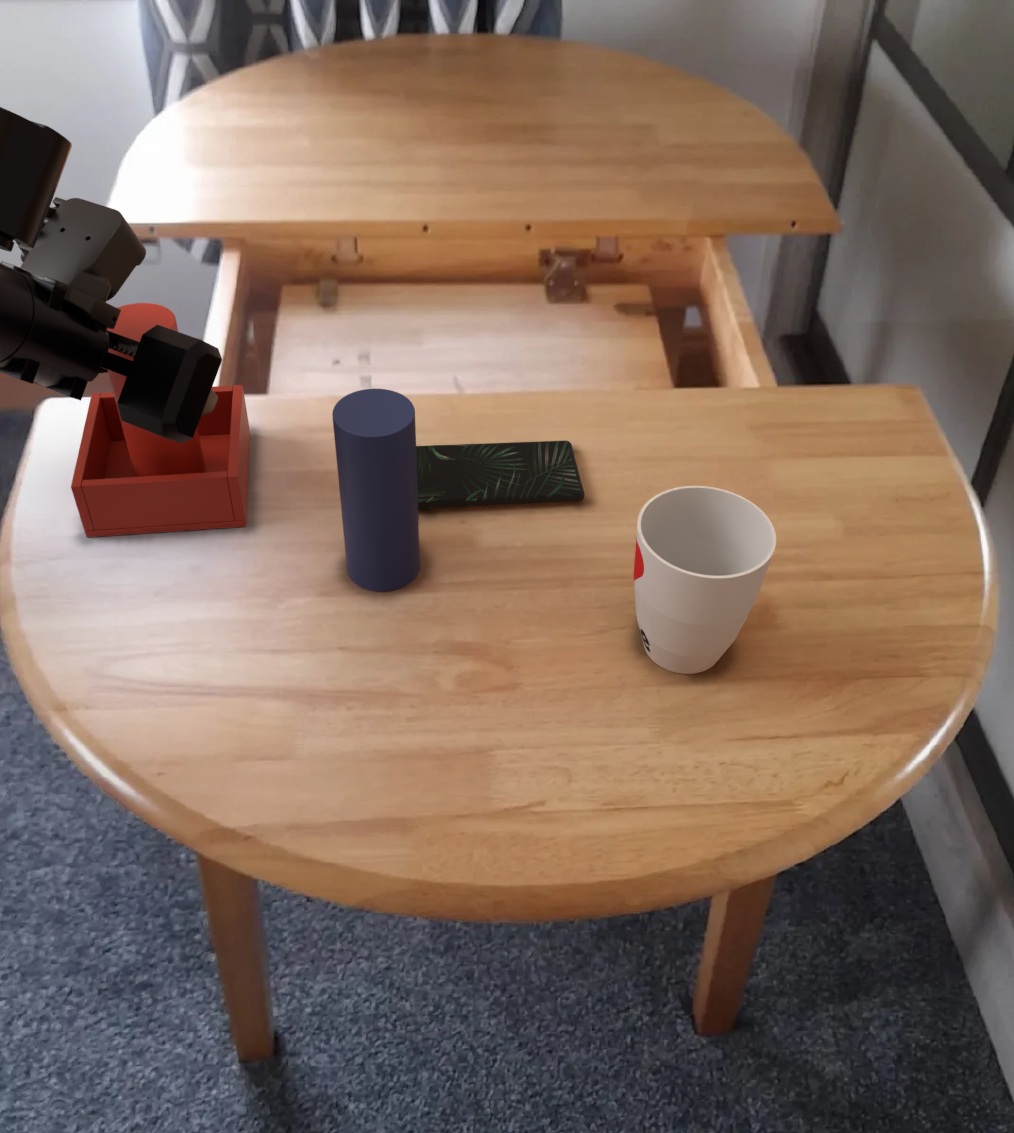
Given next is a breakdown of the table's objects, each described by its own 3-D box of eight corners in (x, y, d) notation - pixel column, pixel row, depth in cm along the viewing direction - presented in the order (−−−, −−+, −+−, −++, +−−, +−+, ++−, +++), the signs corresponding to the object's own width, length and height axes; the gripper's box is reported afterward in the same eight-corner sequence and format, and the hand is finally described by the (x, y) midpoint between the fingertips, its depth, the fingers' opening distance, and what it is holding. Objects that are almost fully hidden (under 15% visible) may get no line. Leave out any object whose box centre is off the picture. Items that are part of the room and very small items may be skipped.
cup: (652, 584, 76) (672, 469, 69) (764, 630, 73) (796, 516, 67) (598, 659, 71) (613, 543, 64) (716, 712, 68) (745, 597, 61)
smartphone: (585, 495, 81) (379, 504, 80) (584, 505, 82) (379, 514, 80) (570, 438, 86) (375, 445, 85) (569, 448, 87) (376, 456, 85)
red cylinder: (151, 507, 80) (113, 351, 71) (126, 470, 83) (85, 315, 74) (217, 483, 82) (187, 328, 73) (189, 447, 85) (158, 295, 76)
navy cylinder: (334, 581, 76) (318, 425, 67) (365, 535, 79) (353, 381, 70) (403, 599, 75) (395, 444, 66) (430, 552, 78) (427, 398, 69)
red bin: (86, 537, 78) (70, 486, 75) (104, 442, 86) (91, 392, 83) (246, 526, 79) (237, 476, 76) (250, 433, 87) (242, 384, 84)
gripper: (172, 220, 60) (312, 311, 74) (-76, 143, 66) (99, 240, 80) (100, 416, 60) (253, 467, 75) (-141, 321, 66) (45, 386, 81)
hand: (161, 383), depth 78 cm, fingers open, 9 cm apart
